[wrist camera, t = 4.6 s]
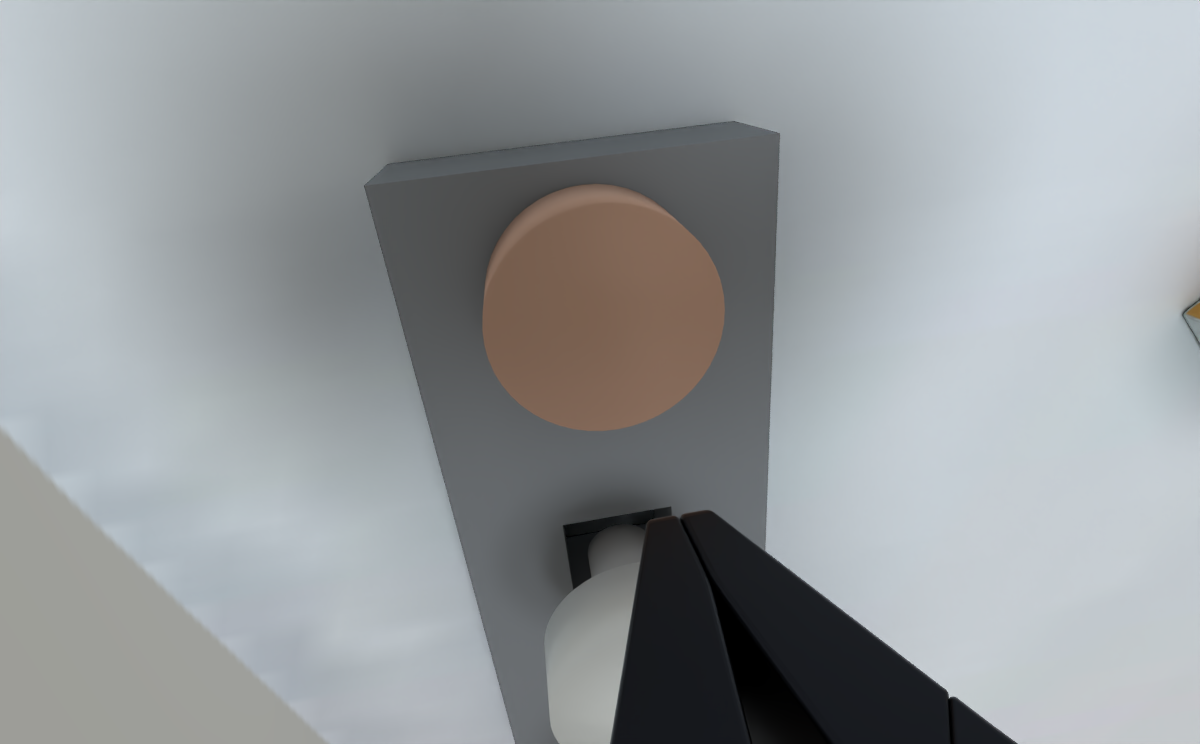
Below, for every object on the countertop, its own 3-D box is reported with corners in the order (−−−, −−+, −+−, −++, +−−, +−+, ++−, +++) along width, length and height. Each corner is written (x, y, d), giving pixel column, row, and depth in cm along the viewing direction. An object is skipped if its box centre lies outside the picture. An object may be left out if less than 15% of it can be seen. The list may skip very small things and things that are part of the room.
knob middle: (701, 593, 20) (758, 746, 16) (549, 621, 20) (564, 787, 15) (697, 470, 18) (764, 609, 13) (525, 499, 17) (534, 652, 13)
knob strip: (732, 684, 27) (758, 753, 24) (527, 725, 26) (530, 800, 23) (734, 121, 16) (779, 133, 14) (387, 164, 15) (364, 185, 13)
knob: (670, 325, 18) (725, 411, 14) (504, 350, 18) (505, 447, 14) (662, 151, 16) (724, 187, 12) (471, 175, 16) (459, 221, 11)
